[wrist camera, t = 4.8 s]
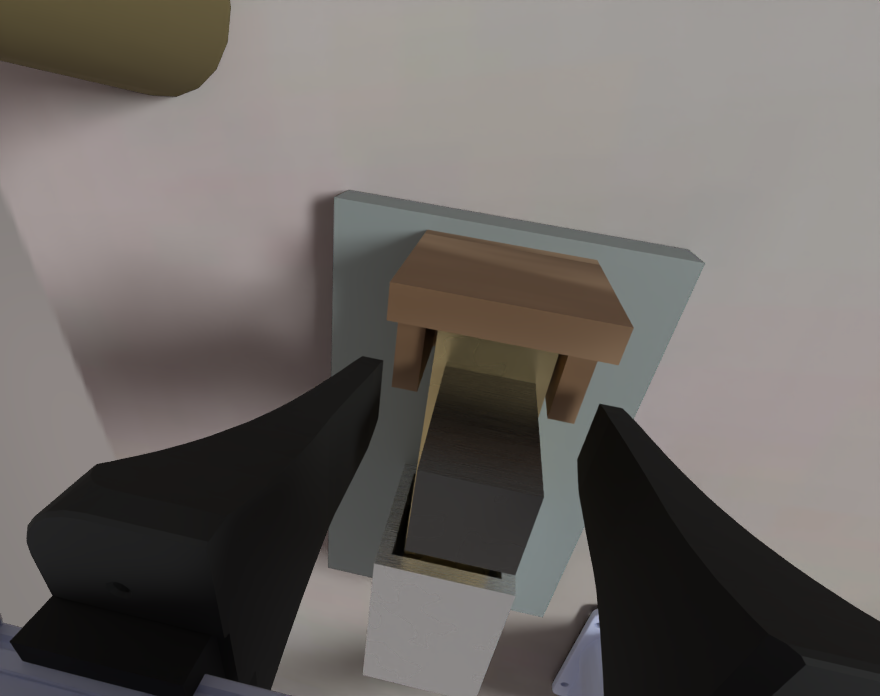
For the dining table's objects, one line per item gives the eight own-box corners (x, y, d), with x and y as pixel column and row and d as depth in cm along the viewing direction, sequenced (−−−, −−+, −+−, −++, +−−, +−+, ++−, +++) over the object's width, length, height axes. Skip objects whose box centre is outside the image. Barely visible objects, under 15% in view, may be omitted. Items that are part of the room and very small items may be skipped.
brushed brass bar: (483, 535, 20) (468, 732, 14) (414, 520, 20) (369, 707, 14) (554, 291, 14) (585, 442, 8) (455, 273, 14) (407, 406, 8)
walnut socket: (562, 364, 16) (580, 458, 12) (414, 334, 16) (378, 416, 12) (597, 260, 14) (633, 328, 10) (427, 229, 14) (389, 281, 10)
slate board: (541, 590, 25) (542, 617, 24) (337, 544, 26) (327, 567, 24) (688, 249, 15) (705, 263, 14) (349, 189, 16) (334, 197, 14)
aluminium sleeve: (482, 591, 23) (474, 702, 19) (390, 570, 24) (362, 674, 19) (515, 486, 19) (515, 596, 15) (405, 462, 20) (373, 563, 15)
